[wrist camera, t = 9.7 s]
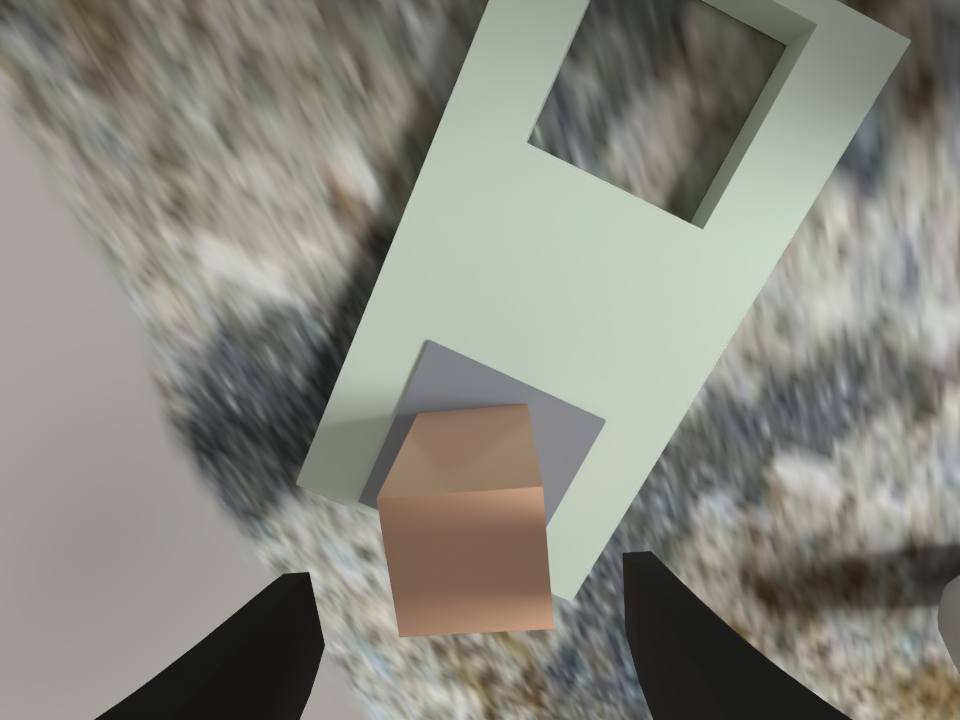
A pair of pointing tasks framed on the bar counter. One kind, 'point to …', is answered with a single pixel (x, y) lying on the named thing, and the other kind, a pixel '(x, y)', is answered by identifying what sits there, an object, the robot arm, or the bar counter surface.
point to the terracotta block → (467, 525)
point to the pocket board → (583, 268)
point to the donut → (951, 619)
